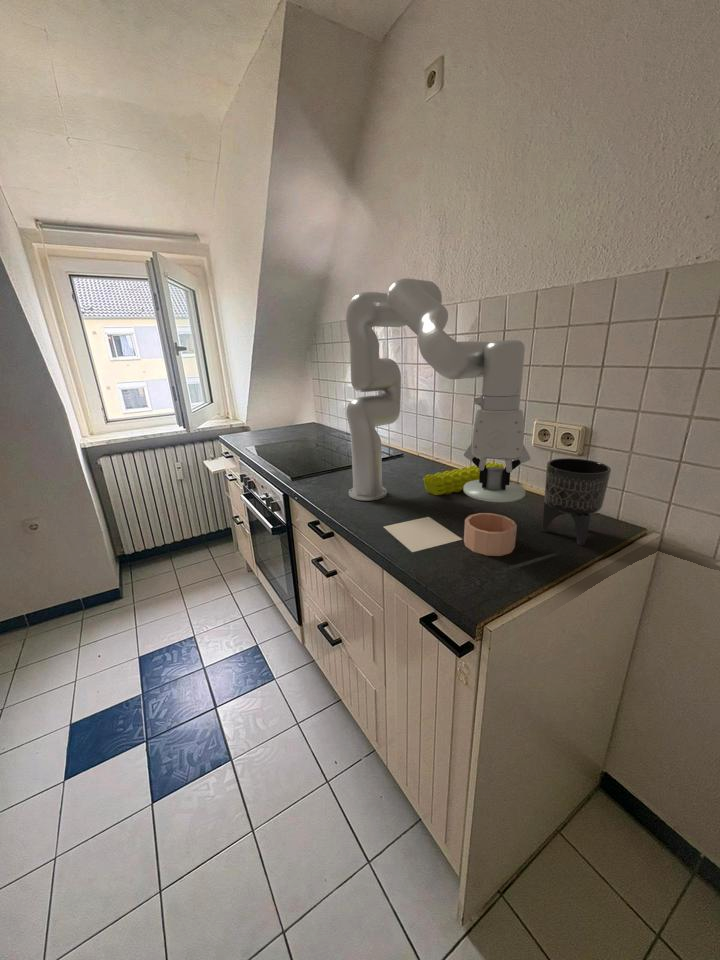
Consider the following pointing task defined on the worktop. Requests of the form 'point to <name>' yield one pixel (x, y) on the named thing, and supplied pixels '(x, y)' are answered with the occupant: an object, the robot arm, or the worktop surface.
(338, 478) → the worktop surface
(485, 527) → the bowl
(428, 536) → the mat
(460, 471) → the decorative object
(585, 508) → the planter
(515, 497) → the lid
